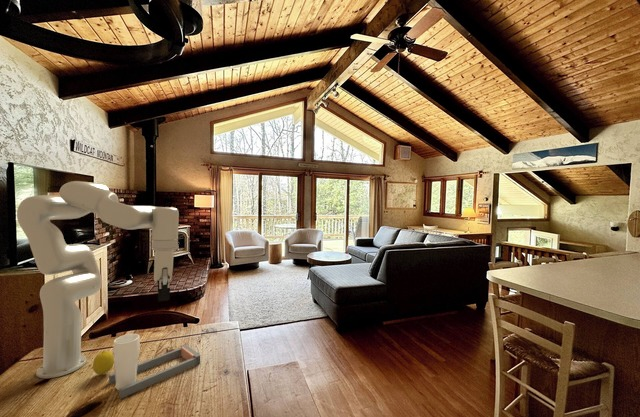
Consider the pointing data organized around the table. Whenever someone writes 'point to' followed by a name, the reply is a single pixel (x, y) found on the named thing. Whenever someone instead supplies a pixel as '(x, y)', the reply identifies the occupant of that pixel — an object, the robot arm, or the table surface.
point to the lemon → (103, 362)
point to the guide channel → (184, 351)
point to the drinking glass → (126, 359)
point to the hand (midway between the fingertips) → (163, 295)
